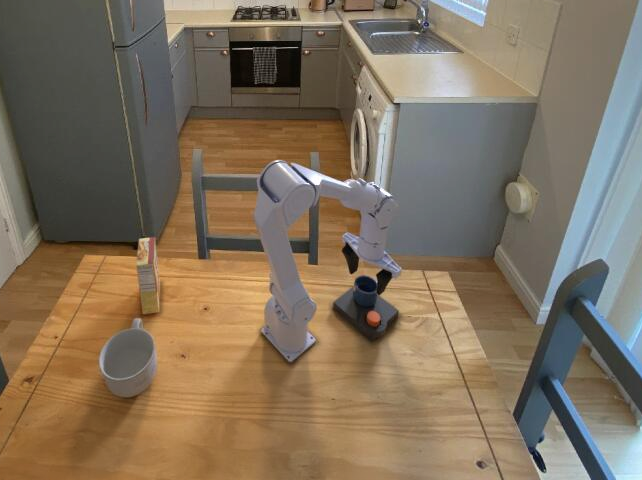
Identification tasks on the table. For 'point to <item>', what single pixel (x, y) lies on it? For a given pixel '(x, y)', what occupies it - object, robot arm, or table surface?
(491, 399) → the table surface
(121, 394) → the teacup
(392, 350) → the table surface
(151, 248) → the candy box
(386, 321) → the scale
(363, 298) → the cup
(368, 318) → the tare button
